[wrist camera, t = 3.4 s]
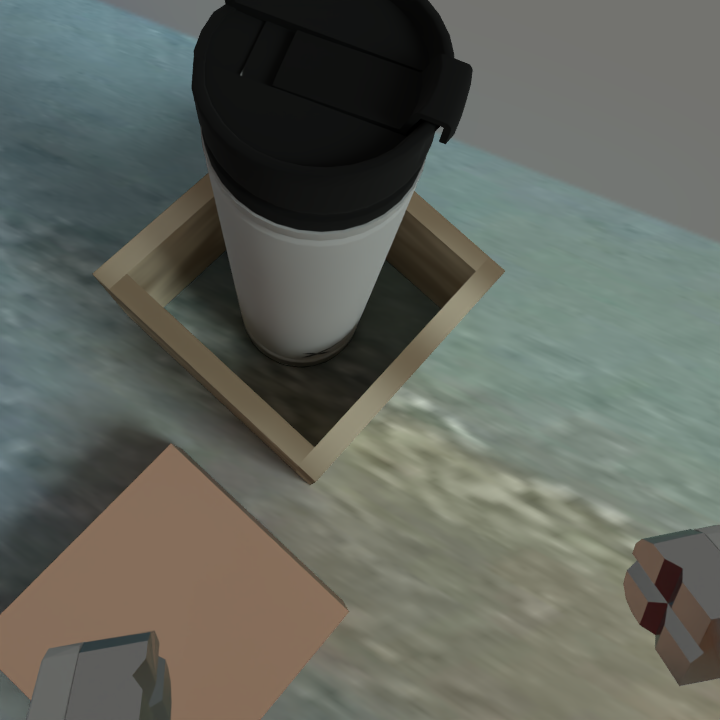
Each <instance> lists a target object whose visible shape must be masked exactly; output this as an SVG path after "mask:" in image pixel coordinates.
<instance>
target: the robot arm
mask: <svg viewBox="0 0 720 720" xmlns="http://www.w3.org/2000/svg"><path fill="white" fill-rule="evenodd" d="M632 554H633V555H634V556H635V558H636V559H637V561H636V562H635V563H634V564H633V565H632V566H631V567H630V568H629V569H628V570H627V572H626V576H625V579H624V583H623V584H624V590H625V596H626V600H627V603H628V605H629V607H630V610H631V612H632V613H633V615H634V617H635V618H636V620H637V621H638V623H639V625H641V626H642V627H644V628H645V629H647V630H649V631H650V632H652V633H653V634H655V649H656V651H657V652H658V654H659V655H660V657H661V659H662V660H663V662H664V663H665V665H666V666H667V668H668V669H669V671H670V672H671V674H672V675H673V677H674V678H675V680H676V681H677V683H678V684H679V686H682V685H687V684H692V683H698V682H703V681H708V680H713V679H718V678H720V525H713V526H708V527H703V528H698V529H694V530H692V529H689V530H684V531H679V532H674V533H669V534H664V535H659V536H655V537H650V538H645V539H641V540H640V541H639V542H637V543H636V545H635V548H634V550H633V553H632ZM159 643H160V642H159V640H158V638H157V635H156V633H155V630H153V631H147V632H141V633H136V634H130V635H124V636H118V637H112V638H106V639H101V640H95V641H89V642H81V643H76V644H70V645H65V646H60V647H54V648H49V649H48V651H47V652H46V654H45V656H44V658H43V659H42V661H41V665H40V668H39V672H38V676H37V680H36V683H35V687H34V691H33V695H32V699H31V702H30V706H29V710H28V714H27V717H26V720H171V705H172V699H171V680H170V674H169V669H168V666H167V663H166V660H165V659H164V658H162V657H160V656H158V655H159Z"/></svg>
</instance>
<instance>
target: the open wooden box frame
mask: <svg viewBox="0 0 720 720" xmlns="http://www.w3.org/2000/svg"><path fill="white" fill-rule="evenodd" d="M225 250H226V245H225V241H224V237H223V232H222V228H221V224H220V220H219V215H218V211H217V207H216V202H215V198H214V194H213V189H212V185H211V181H210V176H209V173H208V174H206V175H205V176H204V177H203V178H202V179H201V180H200V181H198V182H197V183H196V184H195V185H194V186H193V187H192V188H190V189H189V190H188V191H187V192H186V193H185V194H183V195H182V196H181V197H180V198H179V199H178V200H177V201H175V202H174V203H173V204H172V205H171V206H170V207H169V208H167V209H166V210H165V211H164V212H163V213H162V214H160V215H159V216H158V217H157V218H156V219H155V220H154V221H152V222H151V223H150V224H149V225H148V226H147V227H146V228H144V229H143V230H142V231H141V232H140V233H139V234H138V235H136V236H135V237H134V238H133V239H132V240H131V241H129V242H128V243H127V244H126V245H125V246H124V247H123V248H121V249H120V250H119V251H118V252H117V253H116V254H115V255H113V256H112V257H111V258H110V259H109V260H108V261H106V262H105V263H104V264H103V265H102V266H101V267H100V268H98V269H97V270H96V271H95V272H94V273H93V275H94V277H95V278H96V279H97V280H98V281H99V282H100V284H101V285H102V286H103V287H104V288H105V289H106V291H107V292H108V293H109V294H110V295H111V296H112V298H113V299H114V300H115V301H116V302H117V303H118V305H119V306H120V307H121V308H122V309H123V310H124V312H125V313H126V314H127V315H128V316H129V317H130V318H131V319H132V320H133V321H134V322H135V323H136V324H138V325H139V326H140V327H141V328H142V329H143V330H144V331H145V332H146V333H147V334H148V335H149V336H150V337H151V338H153V339H154V340H155V341H156V342H157V343H158V344H159V345H160V346H161V347H162V348H163V349H164V350H165V351H166V352H168V353H169V354H170V355H171V356H172V357H173V358H174V359H175V360H176V361H177V362H178V363H179V364H180V365H182V366H183V367H184V368H185V369H186V370H187V371H188V372H189V373H190V374H191V375H192V376H193V377H194V378H195V379H197V380H198V381H199V382H200V383H201V384H202V385H203V386H204V387H205V388H206V389H207V390H208V391H209V392H211V393H212V394H213V395H214V396H215V397H216V398H217V399H218V400H219V401H220V402H221V403H222V404H223V405H224V406H226V407H227V408H228V409H229V410H230V411H231V412H232V413H233V414H234V415H235V416H236V417H237V418H238V419H239V420H241V421H242V422H243V423H244V424H245V425H246V426H247V427H248V428H249V429H250V430H251V431H252V432H253V433H255V434H256V435H257V436H258V437H259V438H260V439H261V440H262V441H263V442H264V443H265V444H266V445H267V446H268V447H270V448H271V449H272V450H273V451H274V452H275V453H276V454H277V455H278V456H279V457H280V458H281V459H282V460H284V461H285V462H286V463H287V464H288V465H289V466H290V467H291V468H292V469H293V470H294V471H295V472H296V473H297V474H299V475H300V476H301V477H302V478H303V479H304V480H305V481H306V482H307V483H308V484H309V485H311V484H313V483H315V482H316V481H317V480H318V479H319V478H320V477H321V476H322V474H323V473H324V472H325V471H326V470H327V469H328V468H329V467H330V466H331V464H332V463H333V462H334V461H335V460H336V459H337V458H338V457H339V456H340V454H341V453H342V452H343V451H344V450H345V449H346V448H347V447H348V446H349V444H350V443H351V442H352V441H353V440H354V439H355V438H356V437H357V436H358V434H359V433H360V432H361V431H362V430H363V429H364V428H365V427H366V425H367V424H368V423H369V422H370V421H371V420H372V419H373V418H374V417H375V415H376V414H377V413H378V412H379V411H380V410H381V409H382V408H383V407H384V405H385V404H386V403H387V402H388V401H389V400H390V399H391V398H392V397H393V395H394V394H395V393H396V392H397V391H398V390H399V389H400V388H401V387H402V385H403V384H404V383H405V382H406V381H407V380H408V379H409V378H410V377H411V375H412V374H413V373H414V372H415V371H416V370H417V369H418V368H419V367H420V365H421V364H422V363H423V362H424V361H425V360H426V359H427V358H428V357H429V355H430V354H431V353H432V352H433V351H434V350H435V349H436V348H437V347H438V345H439V344H440V343H441V342H442V341H443V340H444V339H445V338H446V336H447V335H448V334H449V333H450V332H451V331H452V330H453V329H454V328H455V326H456V325H457V324H458V323H459V322H460V321H461V320H462V319H463V318H464V316H465V315H466V314H467V313H468V312H469V311H470V310H471V309H472V308H473V306H474V305H475V304H476V303H477V302H478V301H479V300H480V299H481V298H482V296H483V295H484V294H485V293H486V292H487V291H488V290H489V289H490V288H491V286H492V285H493V284H494V283H495V282H496V281H497V280H498V279H499V278H500V276H501V275H502V274H503V273H504V272H505V270H504V269H502V268H501V267H500V266H499V265H498V264H497V263H496V262H494V261H493V260H492V259H491V258H490V257H489V256H488V255H486V254H485V253H484V252H483V251H482V250H481V249H480V248H478V247H477V246H476V245H475V244H474V243H473V242H472V241H470V240H469V239H468V238H467V237H466V236H465V235H464V234H463V233H461V232H460V231H459V230H458V229H457V228H456V227H455V226H453V225H452V224H451V223H450V222H449V221H448V220H447V219H445V218H444V217H443V216H442V215H441V214H440V213H439V212H437V211H436V210H435V209H434V208H433V207H432V206H431V205H429V204H428V203H427V202H426V201H425V200H424V199H423V198H421V197H420V196H419V195H418V194H417V193H416V192H415V191H414V192H413V195H412V197H411V200H410V202H409V204H408V207H407V209H406V211H405V214H404V216H403V218H402V221H401V223H400V226H399V228H398V230H397V233H396V235H395V237H394V240H393V242H392V245H391V247H390V249H389V252H388V254H387V256H386V260H387V261H388V262H389V263H390V264H391V265H393V266H394V267H395V268H396V269H397V270H398V271H399V272H400V273H402V274H403V275H404V276H405V277H406V278H407V279H408V280H409V281H411V282H412V283H413V284H414V285H415V286H416V287H417V288H418V289H420V290H421V291H422V292H423V293H424V294H425V295H426V296H427V297H429V298H430V299H431V300H432V301H433V302H434V303H435V304H436V305H438V306H439V307H440V308H441V310H440V311H439V312H438V313H437V314H436V316H435V317H434V318H433V319H432V320H431V321H430V322H429V323H428V324H427V325H426V326H425V328H424V329H423V330H422V331H421V332H420V333H419V334H418V335H417V336H416V337H415V338H414V340H413V341H412V342H411V343H410V344H409V345H408V346H407V347H406V348H405V349H404V350H403V352H402V353H401V354H400V355H399V356H398V357H397V358H396V359H395V360H394V361H393V362H392V364H391V365H390V366H389V367H388V368H387V369H386V370H385V371H384V372H383V373H382V374H381V376H380V377H379V378H378V379H377V380H376V381H375V382H374V383H373V384H372V385H371V386H370V388H369V389H368V390H367V391H366V392H365V393H364V394H363V395H362V396H361V397H360V398H359V400H358V401H357V402H356V403H355V404H354V405H353V406H352V407H351V408H350V409H349V410H348V412H347V413H346V414H345V415H344V416H343V417H342V418H341V419H340V420H339V421H338V422H337V424H336V425H335V426H334V427H333V428H332V429H331V430H330V431H329V432H328V433H327V434H326V436H325V437H324V438H323V439H322V440H321V441H320V442H319V443H318V444H317V445H316V446H315V447H313V446H312V445H311V444H310V443H309V442H308V441H307V440H306V439H305V438H304V437H303V436H302V435H301V434H299V433H298V432H297V431H296V430H295V429H294V428H293V427H292V426H291V425H290V424H289V423H288V422H286V421H285V420H284V419H283V418H282V417H281V416H280V415H279V414H278V413H277V412H276V411H275V410H274V409H272V408H271V407H270V406H269V405H268V404H267V403H266V402H265V401H264V400H263V399H262V398H261V397H259V396H258V395H257V394H256V393H255V392H254V391H253V390H252V389H251V388H250V387H249V386H248V385H247V384H245V383H244V382H243V381H242V380H241V379H240V378H239V377H238V376H237V375H236V374H235V373H234V372H232V371H231V370H230V369H229V368H228V367H227V366H226V365H225V364H224V363H223V362H222V361H221V360H219V359H218V358H217V357H216V356H215V355H214V354H213V353H212V352H211V351H210V350H209V349H208V348H207V347H205V346H204V345H203V344H202V343H201V342H200V341H199V340H198V339H197V338H196V337H195V336H194V335H192V334H191V333H190V332H189V331H188V330H187V329H186V328H185V327H184V326H183V325H182V324H181V323H180V322H178V321H177V320H176V319H175V318H174V317H173V316H172V315H171V314H170V313H169V312H168V311H167V310H165V309H164V307H165V306H166V305H167V304H168V303H169V302H170V301H171V300H172V299H173V298H174V297H176V296H177V295H178V294H179V293H180V292H181V291H182V290H183V289H184V288H185V287H186V286H187V285H189V284H190V283H191V282H192V281H193V280H194V279H195V278H196V277H197V276H198V275H199V274H200V273H202V272H203V271H204V270H205V269H206V268H207V267H208V266H209V265H210V264H211V263H212V262H213V261H215V260H216V259H217V258H218V257H219V256H220V255H221V254H222V253H223V252H224V251H225Z"/></svg>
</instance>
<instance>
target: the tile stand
mask: <svg viewBox="0 0 720 720" xmlns="http://www.w3.org/2000/svg"><path fill="white" fill-rule="evenodd" d="M348 612H349V611H348V609H347V607H346V605H345V604H344V602H343V600H342V599H341V598H339V597H338V596H337V595H336V594H335V593H334V592H333V591H332V590H331V589H330V588H329V587H328V586H327V585H326V584H325V583H324V582H322V581H321V580H320V579H319V578H318V577H317V576H316V575H315V574H314V573H313V572H312V571H311V570H310V569H309V568H308V567H307V566H306V565H304V564H303V563H302V562H301V561H300V560H299V559H298V558H297V557H296V556H295V555H294V554H293V553H292V552H291V551H290V550H289V549H288V548H286V547H285V546H284V545H283V544H282V543H281V542H280V541H279V540H278V539H277V538H276V537H275V536H274V535H273V534H272V533H271V532H269V531H268V530H267V529H266V528H265V527H264V526H263V525H262V524H261V523H260V522H259V521H258V520H257V519H256V518H255V517H254V516H253V515H251V514H250V513H249V512H248V511H247V510H246V509H245V508H244V507H243V506H242V505H241V504H240V503H239V502H238V501H237V500H236V499H235V498H233V497H232V496H231V495H230V494H229V493H228V492H227V491H226V490H225V489H224V488H223V487H222V486H221V485H220V484H219V483H218V482H216V481H215V480H214V479H213V478H212V477H211V476H210V475H209V474H208V473H207V472H206V471H205V470H204V469H203V468H202V467H201V466H200V465H198V464H197V463H196V462H195V461H194V460H193V459H192V458H191V457H190V456H189V455H188V454H187V453H186V452H185V451H184V450H183V449H181V448H179V447H177V446H175V445H173V444H170V445H169V446H168V447H167V448H166V449H165V450H164V451H163V452H162V453H161V454H160V455H159V456H158V457H157V458H156V459H155V460H154V461H153V462H152V463H151V464H150V465H149V466H148V467H147V468H146V469H145V470H144V471H143V472H142V473H141V474H140V475H139V476H138V477H137V478H136V479H135V480H134V481H133V482H132V483H131V484H130V485H129V486H128V487H127V488H126V489H125V490H124V491H123V492H122V493H121V494H120V495H119V496H118V497H117V498H116V499H115V500H114V501H113V502H112V503H111V504H110V505H109V506H108V507H107V508H106V509H105V510H104V511H103V512H102V513H101V514H100V515H99V516H98V517H97V518H96V519H95V520H94V521H93V522H92V523H91V524H90V525H89V526H88V527H87V528H86V529H85V530H84V531H83V532H82V533H81V534H80V535H79V536H78V537H77V538H76V539H75V540H74V541H73V542H72V543H71V544H70V545H69V546H68V547H67V548H66V549H65V550H64V551H63V552H62V553H61V554H60V555H59V556H58V557H57V558H56V559H55V560H54V561H53V562H52V563H51V564H50V565H49V566H48V567H47V568H46V569H45V570H44V571H43V572H42V573H41V574H40V575H39V576H38V577H37V578H36V579H35V580H34V581H33V582H32V583H31V584H30V585H29V586H28V587H27V588H26V589H25V590H24V591H23V592H22V593H21V594H20V595H19V596H18V597H17V598H16V599H15V600H14V601H13V602H12V603H11V604H10V605H9V606H8V607H7V608H6V609H5V610H4V611H3V612H2V613H1V614H0V670H1V671H2V672H3V673H4V674H5V675H6V676H7V677H8V678H9V679H10V680H11V681H12V682H13V683H14V684H15V685H16V686H17V687H18V688H19V689H20V690H21V691H22V692H23V693H24V694H25V695H26V696H27V697H28V698H29V699H30V700H31V699H32V695H33V691H34V687H35V683H36V680H37V676H38V672H39V668H40V665H41V661H42V659H43V658H44V656H45V654H46V652H47V651H48V649H49V648H54V647H60V646H65V645H70V644H76V643H81V642H89V641H95V640H101V639H106V638H112V637H118V636H124V635H130V634H136V633H141V632H147V631H153V630H155V633H156V635H157V638H158V640H159V642H160V643H159V655H158V656H160V657H162V658H164V659H165V660H166V663H167V666H168V669H169V674H170V680H171V699H172V705H171V720H260V719H261V718H262V717H263V716H264V714H265V713H266V712H267V711H268V710H269V708H270V707H271V706H272V705H273V704H274V702H275V701H276V700H277V699H278V697H279V696H280V695H281V694H282V693H283V691H284V690H285V689H286V688H287V687H288V685H289V684H290V683H291V682H292V680H293V679H294V678H295V677H296V676H297V674H298V673H299V672H300V671H301V670H302V668H303V667H304V666H305V665H306V663H307V662H308V661H309V660H310V659H311V657H312V656H313V655H314V654H315V653H316V651H317V650H318V649H319V648H320V646H321V645H322V644H323V643H324V642H325V640H326V639H327V638H328V637H329V636H330V634H331V633H332V632H333V631H334V629H335V628H336V627H337V626H338V625H339V623H340V622H341V621H342V620H343V619H344V617H345V616H346V615H347V614H348Z"/></svg>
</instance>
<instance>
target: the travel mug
mask: <svg viewBox="0 0 720 720" xmlns="http://www.w3.org/2000/svg"><path fill="white" fill-rule="evenodd" d="M225 3H226V4H225V5H224V6H222V7H221V8H219V9H218V10H216V11H215V12H214V13H213V14H212V15H211V17H210V18H209V20H208V22H207V23H206V25H205V26H204V27H203V29H202V31H201V33H200V36H199V38H198V41H197V43H196V46H195V49H194V61H193V74H192V92H193V96H194V101H195V105H196V110H197V114H198V119H199V123H200V127H201V137H202V146H203V151H204V155H205V158H206V163H207V168H208V172H209V176H210V181H211V185H212V189H213V194H214V198H215V202H216V207H217V211H218V215H219V220H220V224H221V228H222V232H223V237H224V241H225V245H226V250H227V254H228V258H229V263H230V267H231V271H232V276H233V280H234V284H235V288H236V293H237V297H238V301H239V306H240V310H241V314H242V319H243V323H244V326H245V329H246V332H247V334H248V335H249V337H250V339H251V341H252V342H253V343H254V345H255V346H256V347H257V348H258V349H259V350H260V351H261V352H262V353H264V354H265V355H266V356H268V357H269V358H271V359H273V360H275V361H277V362H279V363H282V364H286V365H289V366H299V367H305V366H313V365H317V364H320V363H323V362H326V361H328V360H329V359H331V358H333V357H335V356H336V355H337V354H338V353H340V352H341V351H342V350H343V349H344V348H345V347H346V345H347V344H348V343H349V342H350V340H351V338H352V336H353V334H354V332H355V330H356V328H357V325H358V323H359V320H360V318H361V316H362V313H363V311H364V309H365V306H366V304H367V301H368V299H369V297H370V294H371V292H372V290H373V287H374V285H375V283H376V280H377V278H378V275H379V273H380V271H381V268H382V266H383V264H384V261H385V259H386V256H387V254H388V252H389V249H390V247H391V245H392V242H393V240H394V237H395V235H396V233H397V230H398V228H399V226H400V223H401V221H402V218H403V216H404V214H405V211H406V209H407V207H408V204H409V202H410V200H411V197H412V195H413V192H414V190H415V188H416V185H417V182H418V180H419V178H420V176H421V173H422V171H423V167H424V163H425V159H426V155H427V153H428V151H429V149H430V147H431V144H432V142H433V138H434V134H435V131H436V130H437V129H438V128H439V127H440V126H441V127H443V128H444V129H443V132H442V135H441V137H440V140H439V142H441V143H444V144H446V143H447V142H448V141H449V140H450V138H451V137H452V136H453V135H454V134H455V131H456V129H457V126H458V124H459V121H460V119H461V116H462V113H463V110H464V107H465V103H466V100H467V96H468V93H469V89H470V85H471V78H472V67H471V66H470V65H469V64H467V63H465V62H462V61H460V60H457V59H455V58H454V52H453V48H452V43H451V39H450V35H449V33H448V31H447V29H446V27H445V25H444V23H443V21H442V19H441V17H440V15H439V13H438V12H437V11H436V10H435V9H434V7H433V6H432V5H431V3H430V2H429V1H428V0H225Z"/></svg>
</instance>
